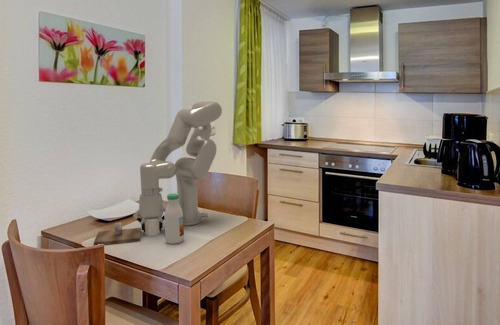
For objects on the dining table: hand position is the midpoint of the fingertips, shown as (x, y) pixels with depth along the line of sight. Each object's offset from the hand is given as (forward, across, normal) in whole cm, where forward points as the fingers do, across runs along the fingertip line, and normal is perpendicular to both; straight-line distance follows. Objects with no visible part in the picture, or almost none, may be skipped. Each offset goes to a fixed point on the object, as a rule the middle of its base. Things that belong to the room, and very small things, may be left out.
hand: (152, 230), depth 156 cm
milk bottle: (+2, -9, +12) cm, 15 cm away
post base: (+1, +14, +2) cm, 14 cm away
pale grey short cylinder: (+1, 0, 0) cm, 1 cm away
